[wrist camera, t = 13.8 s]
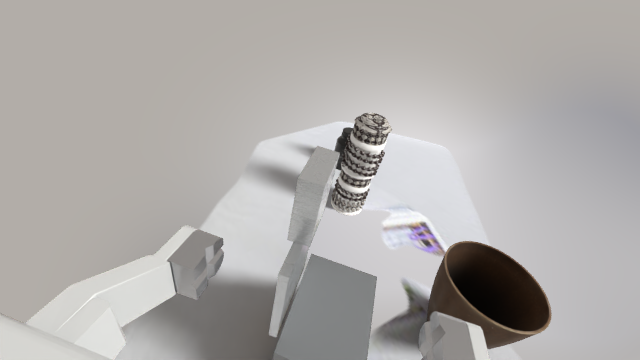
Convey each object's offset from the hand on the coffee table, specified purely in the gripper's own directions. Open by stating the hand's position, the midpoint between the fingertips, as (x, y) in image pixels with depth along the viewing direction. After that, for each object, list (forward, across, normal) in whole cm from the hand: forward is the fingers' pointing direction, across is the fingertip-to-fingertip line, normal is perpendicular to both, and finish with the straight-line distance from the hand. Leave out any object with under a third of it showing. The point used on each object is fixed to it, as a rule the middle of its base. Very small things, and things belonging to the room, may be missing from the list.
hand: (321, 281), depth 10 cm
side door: (+14, +3, +25) cm, 28 cm away
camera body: (+15, -2, +37) cm, 40 cm away
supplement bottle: (+69, +4, +36) cm, 78 cm away
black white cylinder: (+51, -1, +36) cm, 63 cm away
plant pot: (+26, -25, +37) cm, 52 cm away
